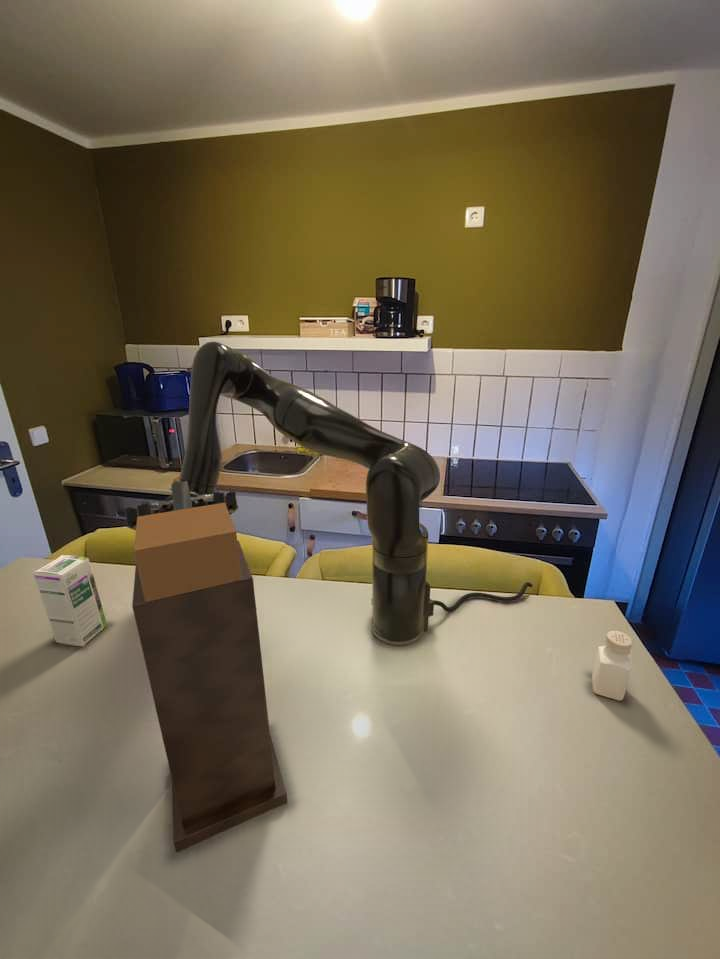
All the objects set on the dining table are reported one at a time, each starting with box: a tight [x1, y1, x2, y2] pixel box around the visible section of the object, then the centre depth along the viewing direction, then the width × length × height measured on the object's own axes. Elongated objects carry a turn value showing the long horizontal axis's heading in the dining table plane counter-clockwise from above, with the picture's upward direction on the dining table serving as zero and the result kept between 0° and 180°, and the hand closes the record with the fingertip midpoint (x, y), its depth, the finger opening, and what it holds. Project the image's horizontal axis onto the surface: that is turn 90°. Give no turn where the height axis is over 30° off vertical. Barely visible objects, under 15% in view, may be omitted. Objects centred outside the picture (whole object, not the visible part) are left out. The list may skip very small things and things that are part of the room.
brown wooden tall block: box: [131, 539, 288, 853], centre depth 46 cm, size 12×10×30 cm
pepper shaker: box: [591, 630, 633, 701], centre depth 63 cm, size 4×4×10 cm
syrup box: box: [32, 554, 108, 648], centre depth 74 cm, size 6×6×14 cm
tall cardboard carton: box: [133, 481, 242, 602], centre depth 47 cm, size 8×24×5 cm, turn 24°
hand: (182, 503), depth 54 cm, fingers open, 8 cm apart
